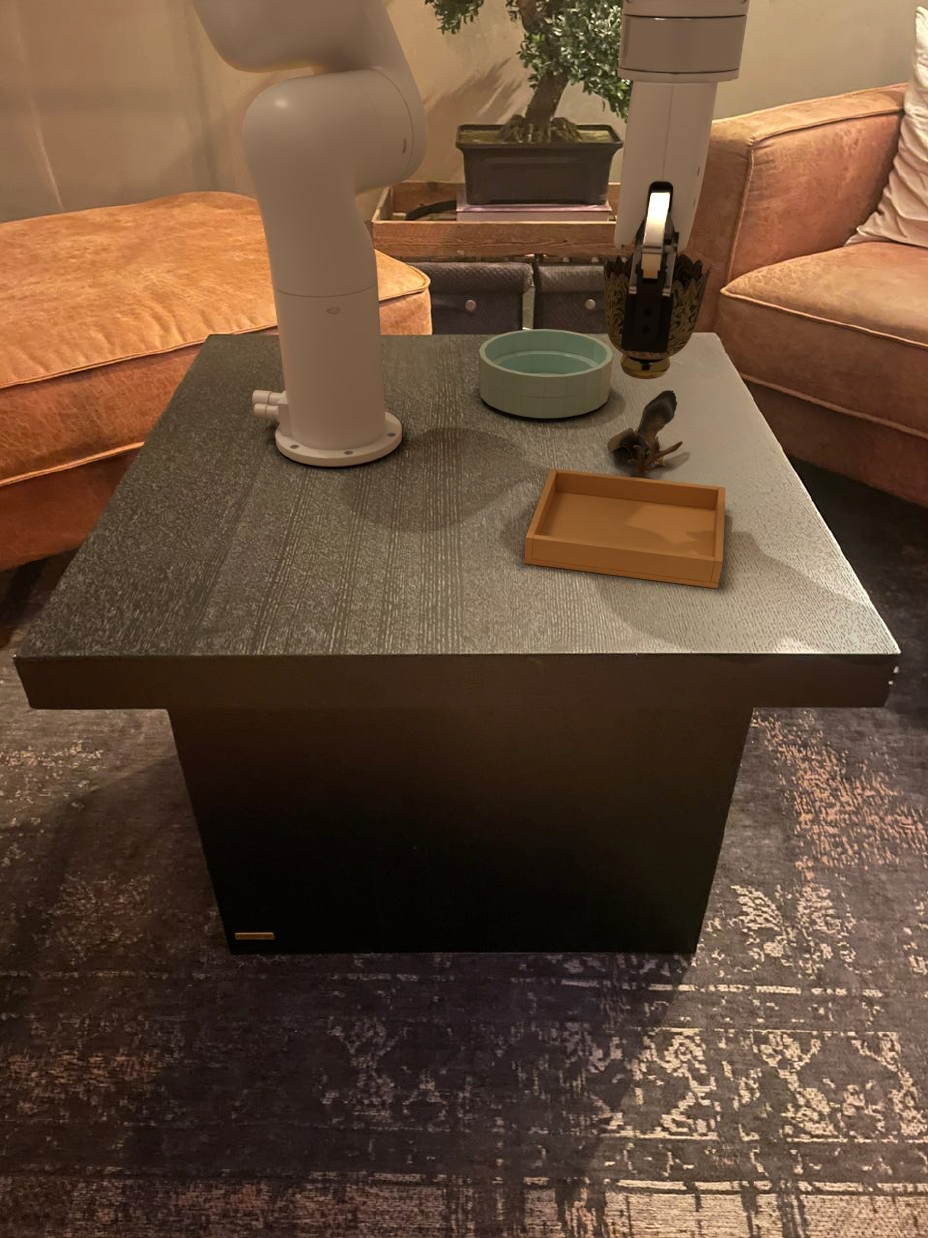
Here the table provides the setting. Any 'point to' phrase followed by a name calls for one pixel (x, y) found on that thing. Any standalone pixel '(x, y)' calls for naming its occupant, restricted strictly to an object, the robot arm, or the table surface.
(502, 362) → the bowl
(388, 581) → the table surface
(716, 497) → the tray
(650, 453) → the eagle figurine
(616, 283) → the cup
